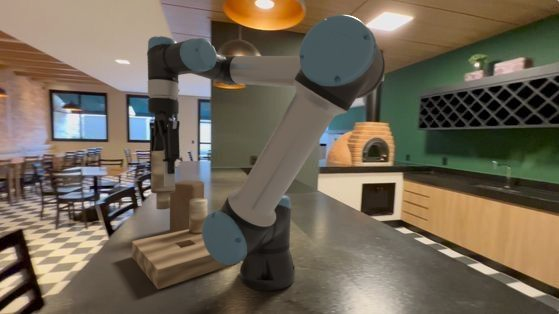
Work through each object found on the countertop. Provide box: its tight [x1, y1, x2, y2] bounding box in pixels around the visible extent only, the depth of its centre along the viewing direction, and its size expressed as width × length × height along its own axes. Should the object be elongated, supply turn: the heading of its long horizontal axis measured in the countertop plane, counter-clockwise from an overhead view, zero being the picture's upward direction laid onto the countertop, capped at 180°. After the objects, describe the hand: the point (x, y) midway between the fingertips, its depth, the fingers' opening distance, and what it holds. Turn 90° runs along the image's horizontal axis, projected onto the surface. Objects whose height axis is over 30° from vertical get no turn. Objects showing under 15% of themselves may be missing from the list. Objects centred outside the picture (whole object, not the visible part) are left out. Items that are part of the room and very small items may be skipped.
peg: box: [150, 151, 175, 210], centre depth 73 cm, size 6×6×16 cm
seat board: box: [131, 198, 240, 290], centre depth 83 cm, size 24×24×16 cm
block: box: [169, 179, 205, 233], centre depth 108 cm, size 10×10×20 cm
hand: (164, 184), depth 74 cm, fingers closed on peg, 6 cm apart
